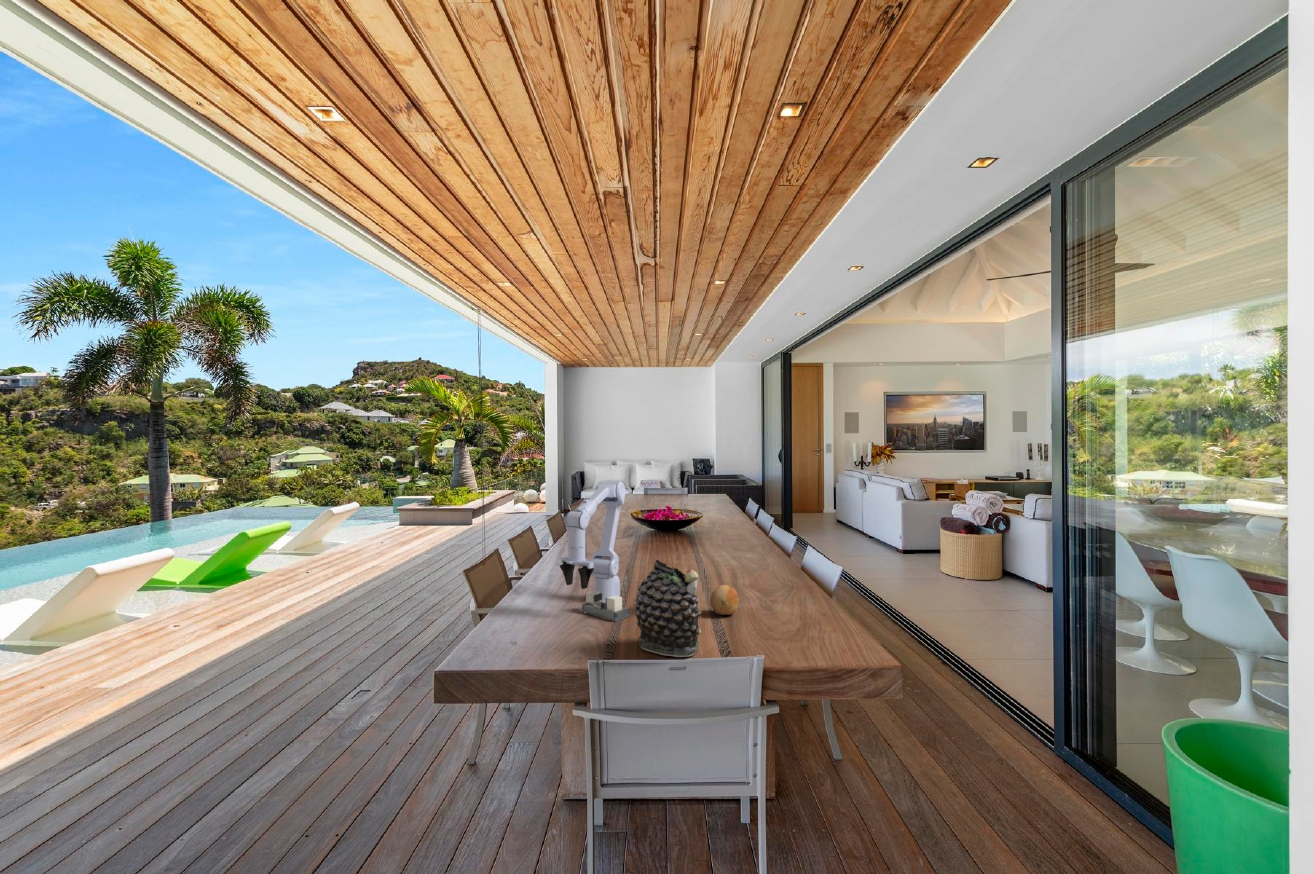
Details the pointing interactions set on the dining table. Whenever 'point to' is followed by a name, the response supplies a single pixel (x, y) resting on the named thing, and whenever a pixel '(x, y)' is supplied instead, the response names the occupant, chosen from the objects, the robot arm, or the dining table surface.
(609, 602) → the cream rectangular block
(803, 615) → the dining table surface
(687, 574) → the scaly pinecone figurine
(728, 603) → the onion
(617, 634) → the dining table surface
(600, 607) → the rail
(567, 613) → the dining table surface
